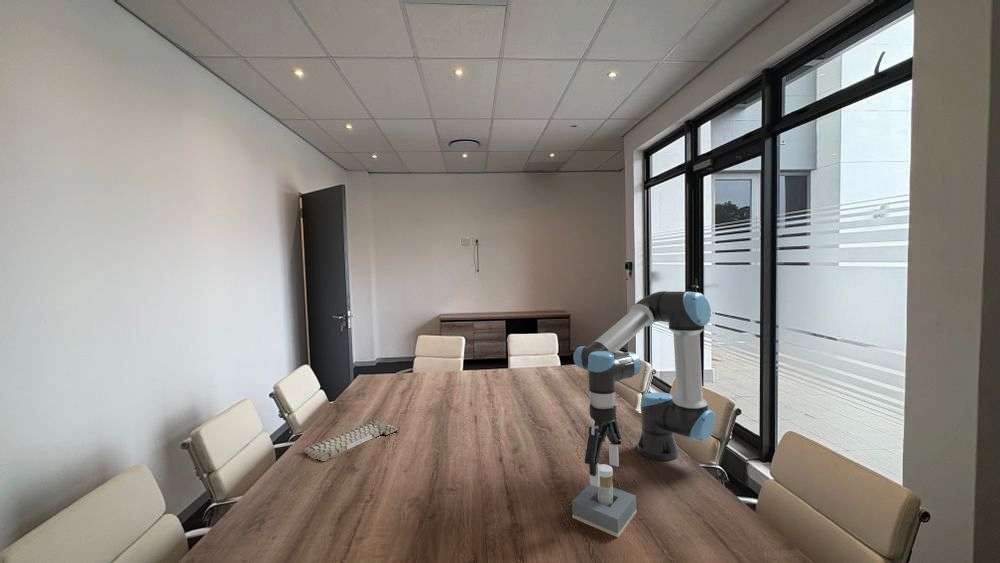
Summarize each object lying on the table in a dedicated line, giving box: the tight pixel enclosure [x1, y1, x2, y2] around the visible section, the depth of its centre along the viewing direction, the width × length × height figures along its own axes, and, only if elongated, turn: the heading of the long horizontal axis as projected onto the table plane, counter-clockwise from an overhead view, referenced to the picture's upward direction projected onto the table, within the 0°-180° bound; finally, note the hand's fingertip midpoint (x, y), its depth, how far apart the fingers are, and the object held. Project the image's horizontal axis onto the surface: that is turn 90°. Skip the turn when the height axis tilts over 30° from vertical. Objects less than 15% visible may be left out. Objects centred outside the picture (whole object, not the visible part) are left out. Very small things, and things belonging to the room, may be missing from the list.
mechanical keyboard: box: [303, 419, 399, 462], centre depth 169 cm, size 38×19×3 cm, turn 146°
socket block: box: [571, 483, 637, 538], centre depth 113 cm, size 14×14×5 cm
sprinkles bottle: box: [598, 463, 614, 507], centre depth 113 cm, size 5×5×13 cm
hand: (604, 474), depth 113 cm, fingers open, 13 cm apart
